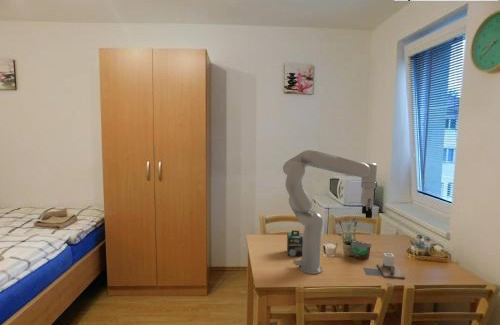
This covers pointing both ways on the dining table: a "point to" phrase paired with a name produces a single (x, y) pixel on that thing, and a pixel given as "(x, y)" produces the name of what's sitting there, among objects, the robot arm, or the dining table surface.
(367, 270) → the mat
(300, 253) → the chalk box
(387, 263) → the sleeve
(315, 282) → the dining table surface
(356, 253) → the food container
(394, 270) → the pinboard
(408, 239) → the dining table surface
